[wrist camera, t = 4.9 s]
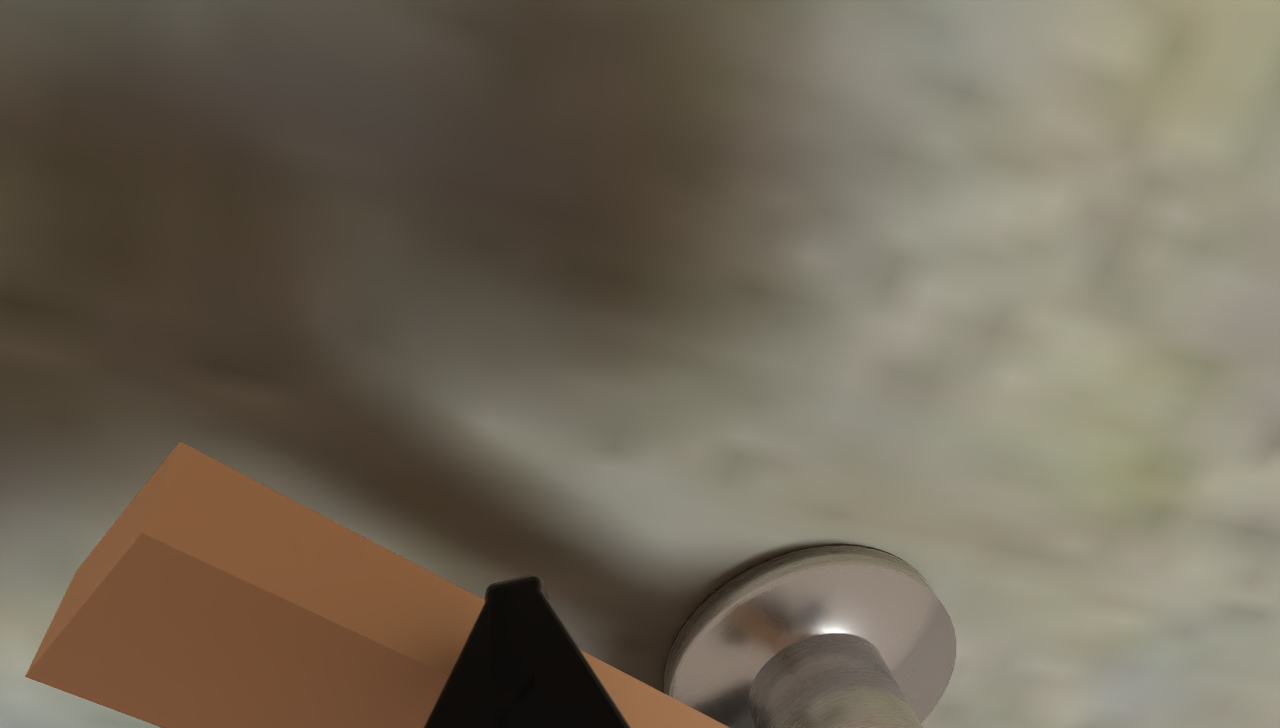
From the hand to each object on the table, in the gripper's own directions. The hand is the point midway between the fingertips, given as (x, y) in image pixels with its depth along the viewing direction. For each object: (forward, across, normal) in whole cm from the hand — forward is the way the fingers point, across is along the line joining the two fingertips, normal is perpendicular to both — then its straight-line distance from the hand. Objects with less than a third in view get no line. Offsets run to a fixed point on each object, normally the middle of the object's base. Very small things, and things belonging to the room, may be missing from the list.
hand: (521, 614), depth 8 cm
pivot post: (+5, -4, +7) cm, 9 cm away
